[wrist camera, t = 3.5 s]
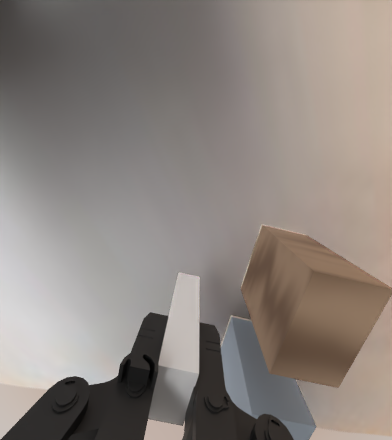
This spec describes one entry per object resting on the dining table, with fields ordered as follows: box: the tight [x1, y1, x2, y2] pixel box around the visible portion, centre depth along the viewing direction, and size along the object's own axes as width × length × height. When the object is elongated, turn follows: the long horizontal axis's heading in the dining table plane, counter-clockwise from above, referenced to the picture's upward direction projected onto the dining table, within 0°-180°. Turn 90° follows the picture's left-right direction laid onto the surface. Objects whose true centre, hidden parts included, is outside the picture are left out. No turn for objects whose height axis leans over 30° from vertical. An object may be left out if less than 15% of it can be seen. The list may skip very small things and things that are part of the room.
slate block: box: [221, 315, 316, 440], centre depth 20 cm, size 8×5×10 cm, turn 167°
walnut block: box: [240, 224, 392, 388], centre depth 17 cm, size 8×5×10 cm, turn 167°
